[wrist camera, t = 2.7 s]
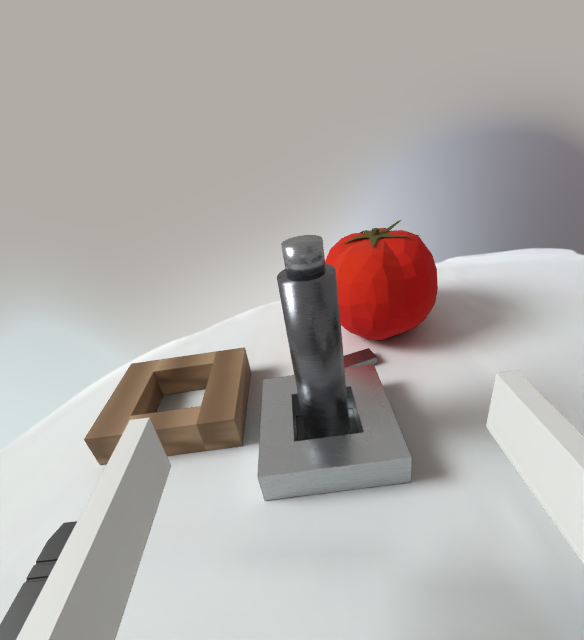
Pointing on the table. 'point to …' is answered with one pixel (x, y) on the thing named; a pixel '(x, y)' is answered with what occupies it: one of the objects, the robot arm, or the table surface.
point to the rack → (182, 424)
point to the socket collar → (330, 442)
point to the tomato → (383, 282)
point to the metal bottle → (314, 336)
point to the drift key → (360, 358)
